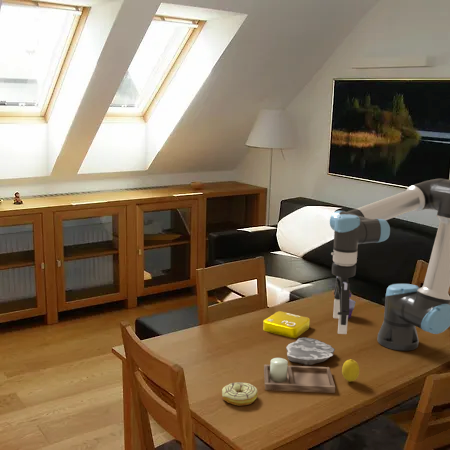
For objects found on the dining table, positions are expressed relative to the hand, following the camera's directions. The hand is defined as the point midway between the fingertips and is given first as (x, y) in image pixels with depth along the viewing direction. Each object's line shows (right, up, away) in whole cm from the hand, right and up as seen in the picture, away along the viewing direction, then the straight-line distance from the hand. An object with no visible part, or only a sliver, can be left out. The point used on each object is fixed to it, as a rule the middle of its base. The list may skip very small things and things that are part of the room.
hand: (339, 325), depth 190 cm
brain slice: (-7, -15, +20) cm, 25 cm away
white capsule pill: (-20, -17, 0) cm, 27 cm away
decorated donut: (-33, -21, -12) cm, 41 cm away
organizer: (-14, -18, 0) cm, 23 cm away
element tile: (-13, -10, +44) cm, 47 cm away
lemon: (+3, -19, +1) cm, 19 cm away
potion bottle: (+14, -7, +59) cm, 61 cm away
